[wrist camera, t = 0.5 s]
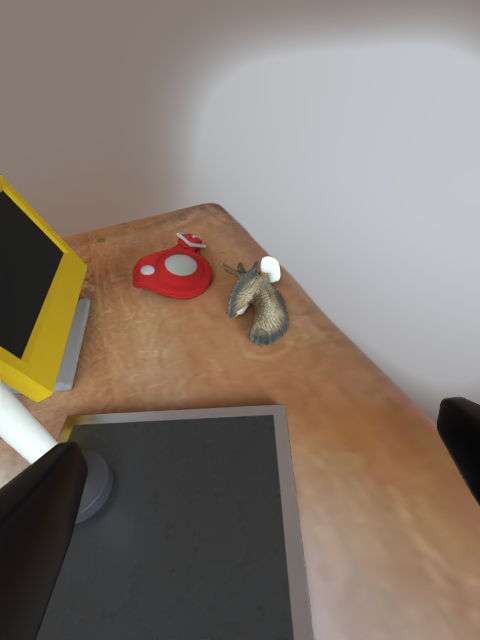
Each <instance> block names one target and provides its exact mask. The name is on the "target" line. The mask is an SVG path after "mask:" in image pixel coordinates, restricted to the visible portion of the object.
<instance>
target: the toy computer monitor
mask: <svg viewBox="0 0 480 640" xmlns="http://www.w3.org/2000/svg"><path fill="white" fill-rule="evenodd" d="M86 269H87V265H86V264H85V263H84V262H83V261H82V260H81V259H80V258H79V257H78V256H77V255H76V254H75V253H74V251H73V250H72V249H71V248H70V247H69V246H68V245H67V244H66V243H65V242H64V241H63V240H62V239H61V238H60V237H59V236H58V235H57V234H56V233H55V232H54V230H53V229H51V227H50V226H49V225H48V224H47V223H46V222H45V221H44V220H43V219H42V218H41V217H40V216H39V215H38V214H37V212H36V211H35V210H34V209H33V208H32V207H31V206H30V205H29V204H28V203H27V202H26V201H25V200H24V199H23V198H22V197H21V196H20V195H19V193H18V192H17V191H16V190H15V189H14V188H13V187H12V186H11V185H10V184H9V183H8V182H7V181H6V180H5V179H4V178H3V177H2V176H1V174H0V380H1V381H2V382H3V383H4V384H5V386H6V387H7V388H8V389H9V390H10V391H11V392H12V393H13V394H24V395H25V396H27V397H29V398H31V399H32V400H34V401H36V402H39V401H41V400H43V399H45V398H47V397H49V396H51V395H52V394H53V392H56V391H70V390H71V389H72V386H73V381H74V377H75V372H76V367H77V363H78V358H79V354H80V349H81V345H82V340H83V336H84V331H85V327H86V322H87V318H88V313H89V309H90V304H91V303H90V300H89V298H83V299H79V295H80V291H81V288H82V284H83V280H84V277H85V273H86ZM78 299H79V300H78Z"/></svg>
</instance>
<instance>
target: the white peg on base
mask: <svg viewBox="0 0 480 640" xmlns="http://www.w3.org/2000/svg"><path fill="white" fill-rule="evenodd" d="M0 437H1V438H2V439H3V440H5V441H6V442H7V443H8V444H9V445H10V446H11V447H12V448H14V449H15V450H16V451H17V452H18V453H19V454H20V455H21V456H22V457H24V458H25V459H26V460H27V461H28V462H29V463H30V464H32V463H34V462H35V461H36V460H37V459H39V458H40V457H41V456H42V455H44V454H45V453H46V452H47V451H49V450H50V449H51V448H53V447H54V446H55V445H56V444H58V442H57V441H56V440H55V439H54V438H53V437H52V436H51V435H50V434H49V432H48V431H47V430H46V429H45V428H44V427H43V426H42V425H41V424H40V423H39V422H38V420H37V419H36V418H35V417H34V416H33V415H32V414H31V413H30V412H29V411H28V410H27V408H26V407H25V406H24V405H23V404H22V403H21V402H20V401H19V400H18V399H17V398H16V396H15V395H14V394H13V393H12V392H11V391H10V390H9V389H8V388H7V387H6V386H5V384H4V383H3V382H2V381H1V380H0ZM82 452H83V455H84V457H85V460H86V462H87V465H88V475H87V479H86V483H85V487H84V491H83V495H82V499H81V503H80V507H79V511H78V515H77V519H76V523H75V524H78V523H80V522H83V521H85V520H87V519H88V518H90V517H91V516H93V515H94V514H95V513H96V512H97V511H98V510H99V509H100V508H101V507H102V506H103V504H104V503H105V502H106V500H107V498H108V497H109V495H110V492H111V490H112V486H113V479H114V478H113V471H112V468H111V466H110V464H109V463H108V462H107V461H106V459H105V458H104V457H103V456H102V455H101V454H100V453H98V452H95V451H91V450H83V451H82Z"/></svg>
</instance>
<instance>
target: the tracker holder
mask: <svg viewBox="0 0 480 640" xmlns="http://www.w3.org/2000/svg"><path fill="white" fill-rule="evenodd" d="M177 236H178V237H180V238H179V239H178V245H176V246H175V247H173V248H171V249H167V250H163V251H160V252H157V253H154V254H151V255H148V256H146V257H144V258H142V259H140V260H139V261H138V262H137V264H136V265H135V266H134V269H133V286H134V287H136V288H147V289H149V290H152V291H154V292H156V293H158V294H161V295H165V296H168V297H172V298H177V299H188V298H192V297H196V296H198V295H200V294H201V293H203V292H204V291H205V290H206V289H207V288H208V286H209V284H210V281H211V277H212V271H211V267H210V265H209V263H208V262H207V261H206V260H205V259H204V258H203V257H202V256H200V255H199V254H198V253H199V251H200V250H201V248H206V245H205V244H204V243H202V240H200V239H201V237H199V236H194V235H191V234H185V233H177Z"/></svg>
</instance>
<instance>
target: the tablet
mask: <svg viewBox="0 0 480 640" xmlns="http://www.w3.org/2000/svg"><path fill="white" fill-rule="evenodd" d="M69 441H76V442H77V443H79V445H80V448H81V450H82V451H83V450H91V451H95V452H98V453H100V454H101V455H102V456H103V457H104V458H105V459H106V461H107V462H108V463H109V464H110V466H111V468H112V471H113V478H114V479H113V486H112V490H111V492H110V495H109V497H108V498H107V500H106V502H105V503H104V504H103V506H102V507H101V508H100V509H99V510H98V511H97V512H96V513H95V514H94V515H93V516H91V517H90V518H88V519H87V520H85V521H83V522H80V523H78V524H75V527H74V531H73V534H72V538H71V541H70V544H69V547H68V550H67V553H66V556H65V559H64V562H63V565H62V567H61V570H60V573H59V576H58V579H57V581H56V584H55V587H54V590H53V593H52V596H51V598H50V601H49V604H48V607H47V610H46V612H45V615H44V618H43V621H42V624H41V627H40V629H39V632H38V635H37V638H36V640H314V632H313V624H312V616H311V608H310V600H309V592H308V584H307V576H306V568H305V560H304V552H303V544H302V536H301V528H300V520H299V512H298V504H297V496H296V488H295V480H294V472H293V464H292V456H291V448H290V440H289V432H288V424H287V416H286V408H285V404H279V405H260V406H241V407H222V408H203V409H184V410H165V411H147V412H128V413H109V414H90V415H71V416H67V418H66V421H65V423H64V425H63V427H62V430H61V432H60V434H59V436H58V438H57V442H58V443H61V442H69Z"/></svg>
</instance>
